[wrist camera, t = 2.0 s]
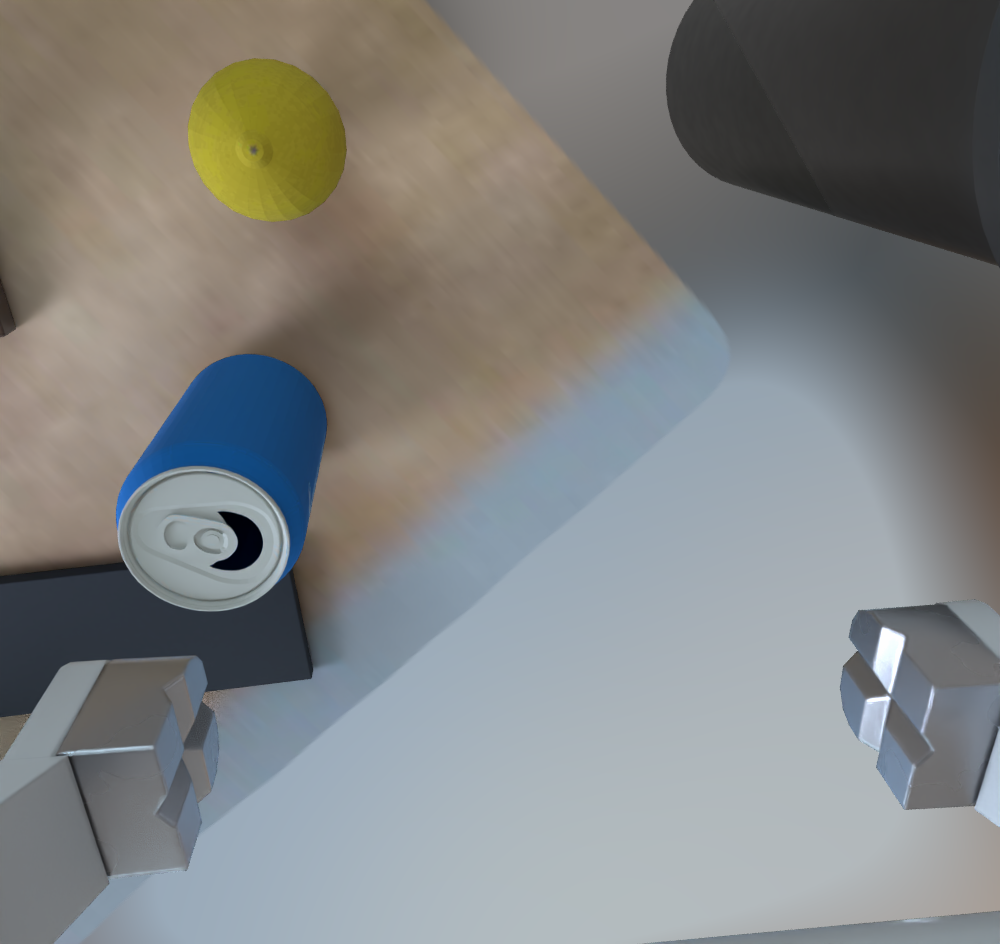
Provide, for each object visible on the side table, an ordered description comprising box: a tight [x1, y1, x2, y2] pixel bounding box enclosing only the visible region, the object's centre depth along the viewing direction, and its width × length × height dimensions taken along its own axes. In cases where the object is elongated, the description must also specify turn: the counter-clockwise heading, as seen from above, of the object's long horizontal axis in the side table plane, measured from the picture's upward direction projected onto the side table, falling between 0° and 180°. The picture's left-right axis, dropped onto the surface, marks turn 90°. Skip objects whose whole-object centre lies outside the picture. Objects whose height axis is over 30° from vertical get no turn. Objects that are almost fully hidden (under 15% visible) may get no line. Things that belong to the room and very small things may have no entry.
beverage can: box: [116, 354, 327, 611], centre depth 34 cm, size 6×6×12 cm
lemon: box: [188, 58, 347, 222], centre depth 31 cm, size 6×6×8 cm
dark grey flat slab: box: [0, 562, 313, 717], centre depth 43 cm, size 20×8×1 cm, turn 94°
